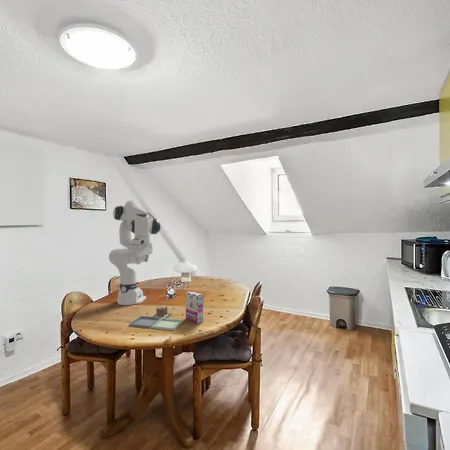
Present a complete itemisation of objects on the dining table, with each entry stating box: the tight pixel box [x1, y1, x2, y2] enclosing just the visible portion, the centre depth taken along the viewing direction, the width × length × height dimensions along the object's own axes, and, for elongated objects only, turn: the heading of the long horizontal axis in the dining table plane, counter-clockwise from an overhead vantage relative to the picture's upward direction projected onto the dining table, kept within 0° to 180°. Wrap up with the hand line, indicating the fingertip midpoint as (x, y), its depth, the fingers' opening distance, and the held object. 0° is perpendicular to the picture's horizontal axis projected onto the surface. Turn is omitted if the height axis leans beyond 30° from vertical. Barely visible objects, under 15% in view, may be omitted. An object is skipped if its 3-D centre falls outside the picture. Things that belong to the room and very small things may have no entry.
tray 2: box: [151, 317, 184, 331], centre depth 156 cm, size 13×13×2 cm
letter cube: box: [155, 305, 168, 317], centre depth 171 cm, size 5×5×5 cm
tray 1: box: [128, 315, 161, 329], centre depth 159 cm, size 13×13×2 cm
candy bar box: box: [185, 290, 204, 324], centre depth 164 cm, size 11×5×16 cm, turn 44°
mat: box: [151, 312, 173, 318], centre depth 171 cm, size 10×10×1 cm
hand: (142, 262), depth 168 cm, fingers open, 8 cm apart
